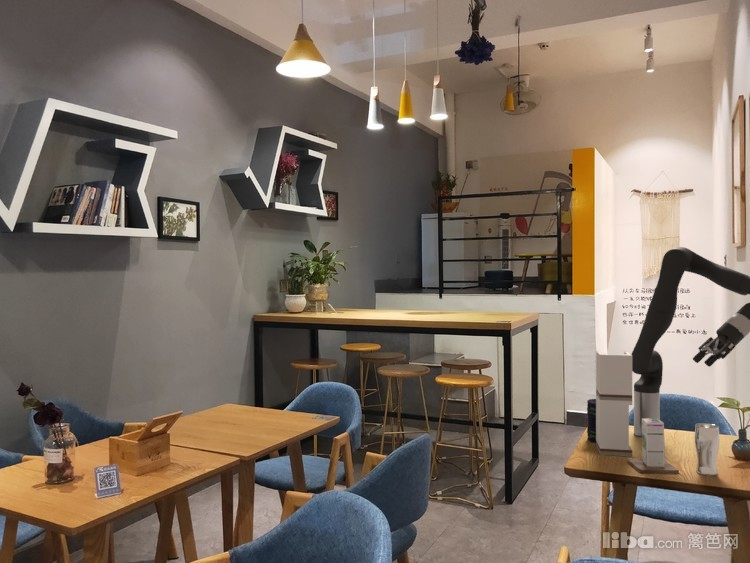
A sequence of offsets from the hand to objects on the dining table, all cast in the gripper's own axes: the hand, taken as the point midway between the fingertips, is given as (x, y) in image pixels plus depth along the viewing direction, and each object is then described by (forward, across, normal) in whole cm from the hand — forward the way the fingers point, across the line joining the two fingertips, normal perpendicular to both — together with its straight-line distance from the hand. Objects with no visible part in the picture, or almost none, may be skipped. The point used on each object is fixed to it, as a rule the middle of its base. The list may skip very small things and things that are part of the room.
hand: (700, 362), depth 212 cm
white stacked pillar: (+42, -8, +4) cm, 43 cm away
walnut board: (+38, +11, +8) cm, 40 cm away
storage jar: (+42, -21, +4) cm, 48 cm away
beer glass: (+27, +16, +19) cm, 37 cm away
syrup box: (+37, +11, +8) cm, 39 cm away
